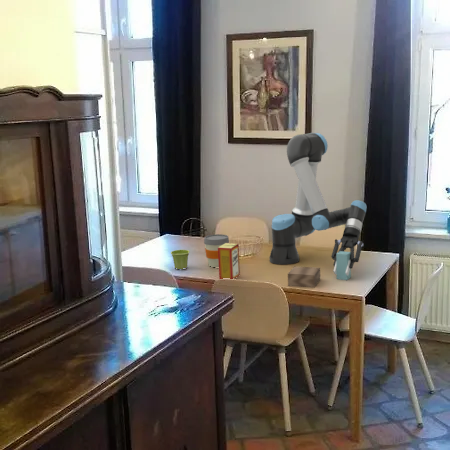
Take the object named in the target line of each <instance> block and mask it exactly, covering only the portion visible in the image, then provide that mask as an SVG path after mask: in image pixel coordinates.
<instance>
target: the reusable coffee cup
mask: <svg viewBox="0 0 450 450" xmlns="http://www.w3.org/2000/svg"><path fill="white" fill-rule="evenodd" d="M203 240H204V241H203V243H204V245H205V247H204V251H205V255H206V256H205V257H206V258H207V262H208V267H209V266H211V267H219V261H218V247H220V246H222V245H223V244H225V243H230V239H229V235H226V234H223V233H221V234H219V233H218V234H209V235H206V236H204V239H203ZM211 267H210V268H211Z"/></svg>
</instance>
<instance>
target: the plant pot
mask: <svg viewBox="0 0 450 450" xmlns="http://www.w3.org/2000/svg"><path fill="white" fill-rule="evenodd" d="M170 254H171V257H172V261H173V264H174V265H173V266H174V269H175V268H177V269H182V270H184V269H183V268H186V267H187V268H188V261H189V260H188V259H189V255H190V250H188V249H175V250H172V251H171V252H170Z"/></svg>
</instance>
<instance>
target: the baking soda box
mask: <svg viewBox="0 0 450 450" xmlns="http://www.w3.org/2000/svg"><path fill="white" fill-rule="evenodd" d="M218 261H219V268H218V274H219V275H218V279H223V278H230V279H233V278H236V277H237V278H238V277H240V276H241V274H240V273H241V270H240V268H241V267H240V247H239V243H234V242H229V243H225V244H223V245H222V246H220V247H218ZM239 275H240V276H239ZM237 278H236V279H237Z"/></svg>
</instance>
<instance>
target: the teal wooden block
mask: <svg viewBox="0 0 450 450" xmlns="http://www.w3.org/2000/svg"><path fill="white" fill-rule="evenodd" d="M350 254H351V252H350V251H346V250H344V251H340V252H338V251H337V254H336V266H337V274H336V280H344V281H348V280H349V279H350V278H351V276H352V274H351V273H352V272H351V271H352V269H350V271H349V275H348V276H347V275H346V273H345V272H346V268H347V265H348V261H349V260H350V261H351V257H350Z"/></svg>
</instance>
